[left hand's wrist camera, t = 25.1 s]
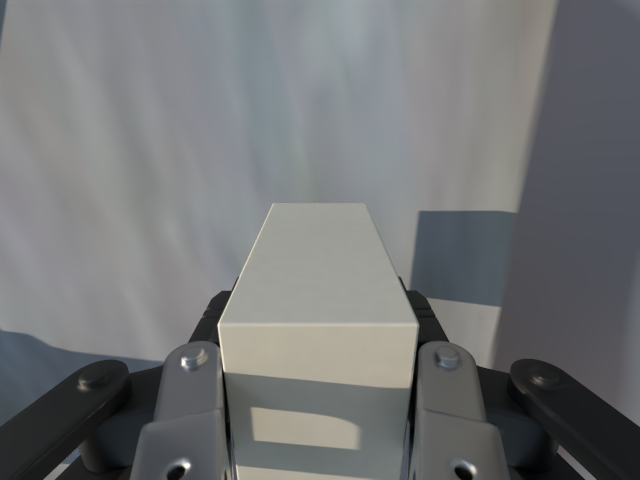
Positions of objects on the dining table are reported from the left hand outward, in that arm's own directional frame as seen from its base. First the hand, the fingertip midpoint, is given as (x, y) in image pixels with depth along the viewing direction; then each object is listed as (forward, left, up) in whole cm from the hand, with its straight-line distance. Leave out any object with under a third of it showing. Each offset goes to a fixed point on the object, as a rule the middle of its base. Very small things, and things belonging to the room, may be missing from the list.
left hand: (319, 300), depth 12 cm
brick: (0, 0, -4) cm, 4 cm away
